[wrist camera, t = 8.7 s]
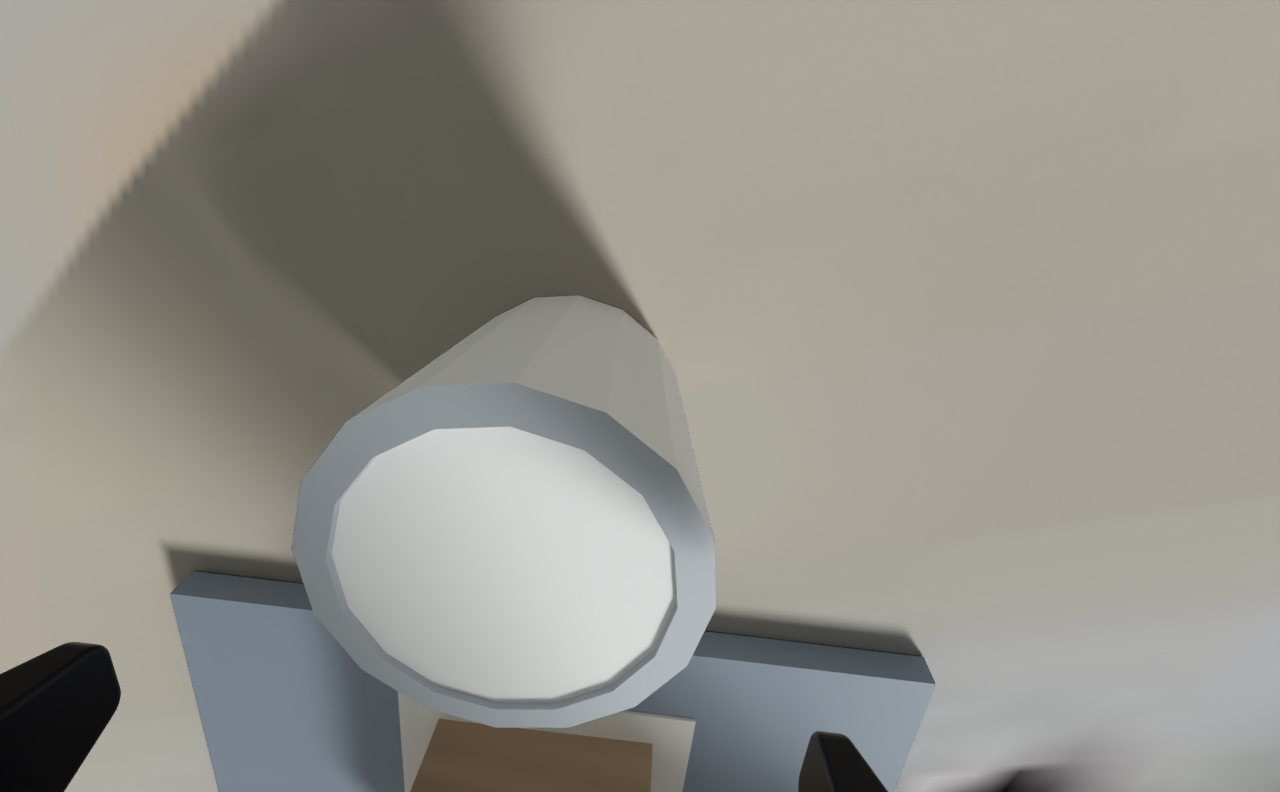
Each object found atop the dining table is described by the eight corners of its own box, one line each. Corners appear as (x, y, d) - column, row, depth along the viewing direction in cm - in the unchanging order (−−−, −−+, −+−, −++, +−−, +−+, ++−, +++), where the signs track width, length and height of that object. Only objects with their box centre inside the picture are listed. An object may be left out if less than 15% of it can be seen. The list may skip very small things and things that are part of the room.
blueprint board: (823, 928, 25) (829, 962, 24) (258, 859, 25) (240, 890, 24) (923, 657, 19) (936, 687, 18) (193, 570, 20) (167, 596, 19)
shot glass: (726, 290, 15) (759, 421, 9) (681, 530, 18) (683, 760, 12) (437, 249, 15) (263, 351, 9) (436, 496, 18) (304, 707, 12)
